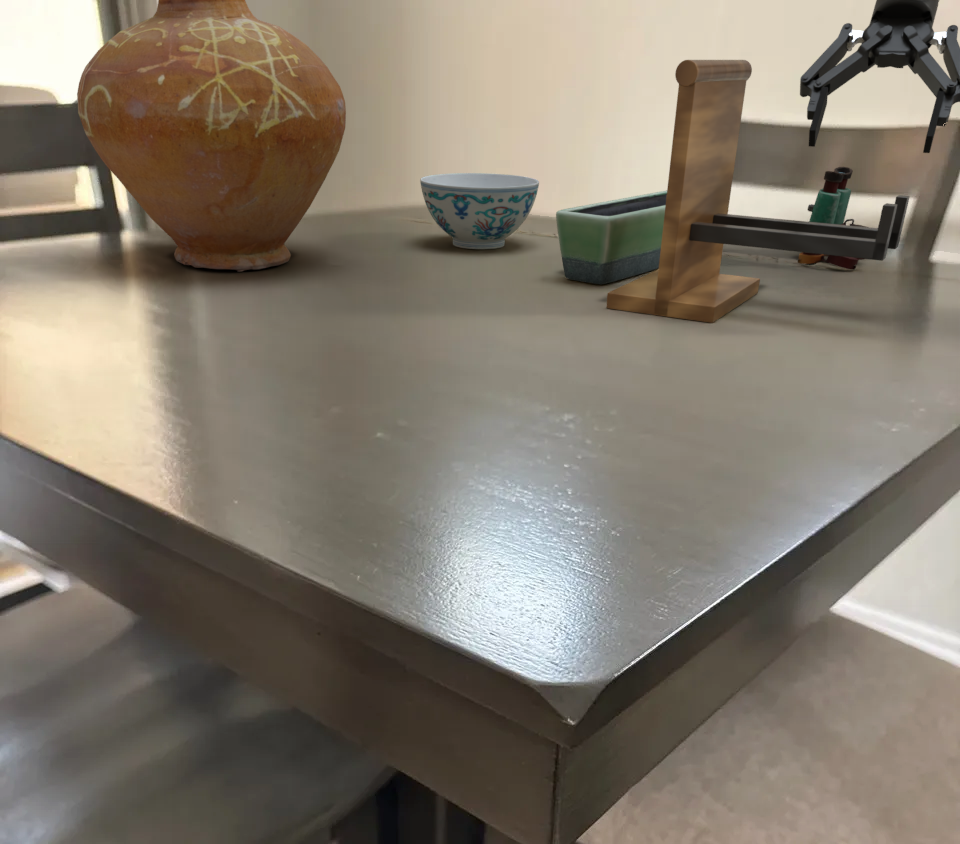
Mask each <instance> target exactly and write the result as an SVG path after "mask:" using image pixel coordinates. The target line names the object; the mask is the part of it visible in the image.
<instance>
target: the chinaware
mask: <svg viewBox="0 0 960 844" xmlns="http://www.w3.org/2000/svg"><path fill="white" fill-rule="evenodd" d="M419 182H420V187H421V188H420V189H421V192H422V196H423V200H424V203H425V206H426V208H427V211H428V213H429V214H430V216H431V217H432V219H433V220H434V222H435V223H436V224H437V225H438V227H439V228H440V229H441V230H442V231H444V232H445V233H446V234H447V235H448V236H450V237H451V238H452V245H453V246H454V247H457V248H461V249H465V250H466V249H467V250H495V249H500V248H503V247H504V246H505V242H506V238H508V237H509V236H511V235H512V234H514V233H515V232H516V231H517V230H518V229H519V228H520V227H521V226H522V225H523V224H524V222H525V221H526V220H527V219H528V217H529V215H530V213H531V211H532V209H533V206H534V204H535V201H536V198H537V194H538V190H539V185H540V180H538V179H536V178H533V177H529V176H524V175H515V174H505V173H504V174H503V173H487V172H486V173H483V172H482V173H481V172H457V173H456V172H454V173H439V174H432V175H431V174H430V175H426V176H423V177H421V178H420V180H419Z"/></svg>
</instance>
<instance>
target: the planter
mask: <svg viewBox="0 0 960 844" xmlns="http://www.w3.org/2000/svg"><path fill="white" fill-rule="evenodd" d="M666 197H667V190H661V191H656V192H650V193H646V194H639V195H633V196H628V197H622V198H617V199H612V200H606V201H601V202H596V203H595V202H594V203H590V204H584V205H580V206H573V207H568V208H563V209H560V210H557V211H556V213H555V220H556V229H557V236H558V243H559V249H560V250H559V251H560V255H561V262H562V268H563V273H564V274H563V275H564V278H566V279H567V280H572V281H576V282H582V283H587V284H594V285H605V284H609V283H610V284H611V283H614V282H617V281H621V280H624V279H627V278H632V277H634V276H638V275H641V274H645V273H650V272H653V271H656V270H658V269H659V261H660V252H661V243H662V233H663V224H664V215H665V206H666Z"/></svg>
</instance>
